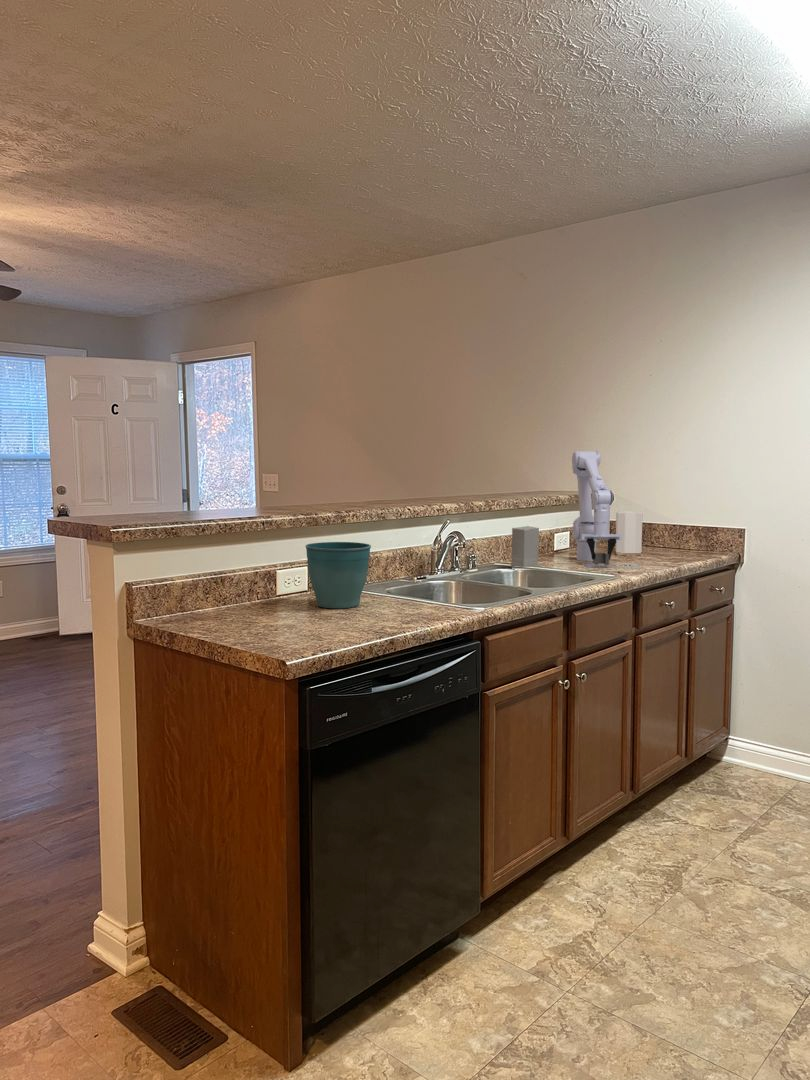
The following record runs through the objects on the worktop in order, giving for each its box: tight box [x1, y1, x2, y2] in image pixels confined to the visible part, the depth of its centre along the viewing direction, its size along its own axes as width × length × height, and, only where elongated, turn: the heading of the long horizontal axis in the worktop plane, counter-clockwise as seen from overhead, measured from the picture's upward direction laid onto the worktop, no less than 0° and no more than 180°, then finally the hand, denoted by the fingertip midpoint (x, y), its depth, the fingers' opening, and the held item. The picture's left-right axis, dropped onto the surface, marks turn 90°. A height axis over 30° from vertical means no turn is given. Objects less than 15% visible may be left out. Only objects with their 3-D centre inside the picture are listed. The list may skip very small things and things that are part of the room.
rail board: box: [581, 562, 644, 570], centre depth 298 cm, size 14×20×2 cm
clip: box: [592, 551, 610, 565], centre depth 297 cm, size 5×5×4 cm
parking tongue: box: [554, 561, 579, 566], centre depth 304 cm, size 8×8×2 cm
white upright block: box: [614, 510, 644, 553], centre depth 344 cm, size 11×11×18 cm
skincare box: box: [510, 525, 540, 568], centre depth 298 cm, size 8×7×16 cm
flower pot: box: [305, 541, 372, 609], centre depth 223 cm, size 18×18×17 cm
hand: (600, 559), depth 298 cm, fingers closed on clip, 5 cm apart
